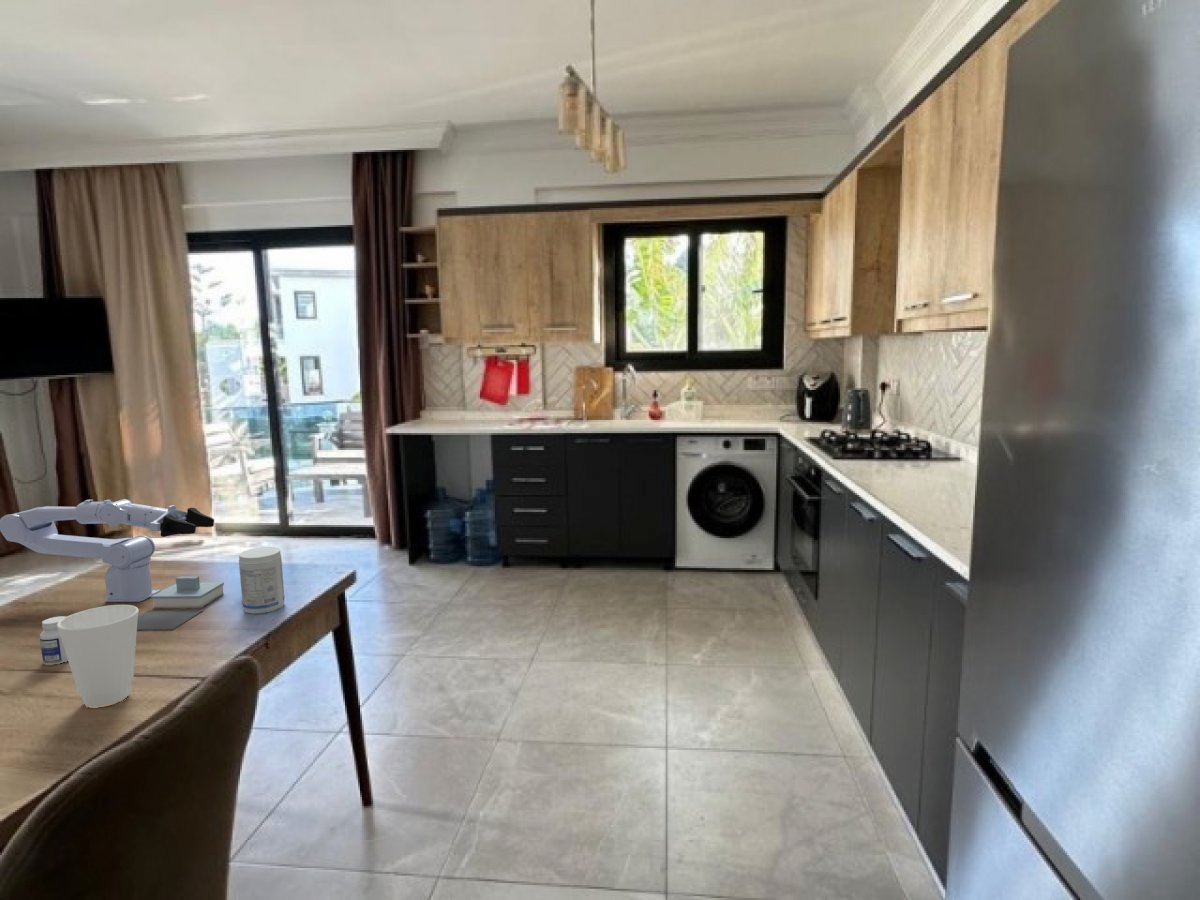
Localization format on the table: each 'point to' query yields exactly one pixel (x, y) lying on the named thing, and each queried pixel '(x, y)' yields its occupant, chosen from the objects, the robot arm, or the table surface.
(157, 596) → the lid
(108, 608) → the cup
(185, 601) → the storage box
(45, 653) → the pill bottle
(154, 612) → the mat
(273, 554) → the supplement tub
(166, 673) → the table surface
